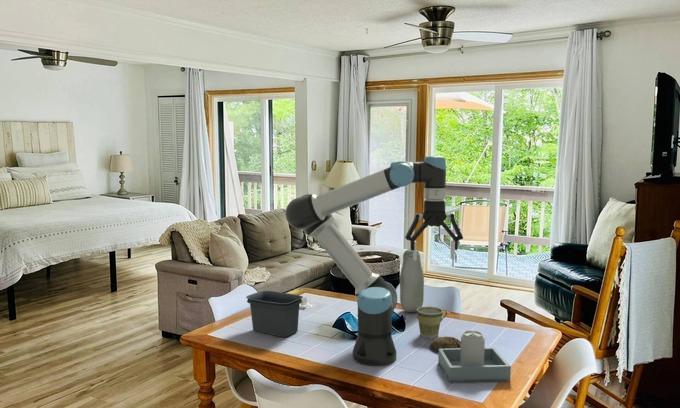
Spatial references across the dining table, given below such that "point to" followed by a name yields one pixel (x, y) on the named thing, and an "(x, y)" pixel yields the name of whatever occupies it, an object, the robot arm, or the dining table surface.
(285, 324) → the storage bin
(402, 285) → the gray bottle
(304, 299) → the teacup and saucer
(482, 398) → the dining table surface
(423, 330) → the ceramic cup
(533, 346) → the dining table surface
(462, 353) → the can
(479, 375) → the tote
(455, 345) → the bread roll
